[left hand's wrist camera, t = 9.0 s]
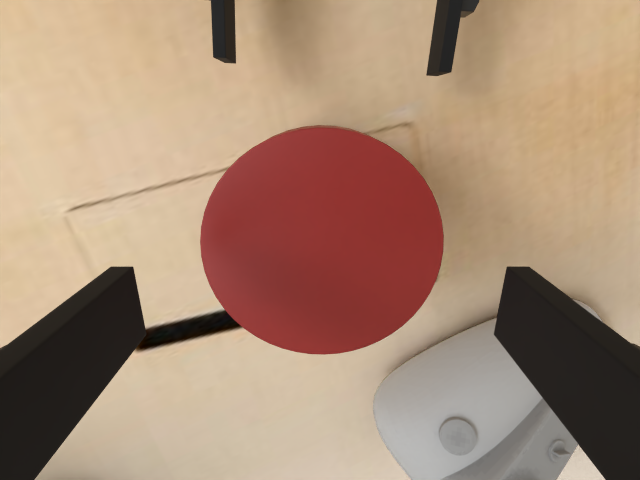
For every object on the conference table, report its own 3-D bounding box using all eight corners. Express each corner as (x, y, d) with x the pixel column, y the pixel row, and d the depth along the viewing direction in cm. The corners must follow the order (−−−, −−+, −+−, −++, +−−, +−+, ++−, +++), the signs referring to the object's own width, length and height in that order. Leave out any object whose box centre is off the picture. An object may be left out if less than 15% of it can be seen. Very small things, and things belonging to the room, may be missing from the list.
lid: (438, 122, 17) (456, 124, 15) (421, 327, 21) (433, 352, 19) (199, 128, 17) (182, 130, 15) (226, 331, 21) (216, 357, 19)
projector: (547, 459, 43) (655, 624, 29) (357, 448, 42) (375, 612, 28) (613, 295, 35) (801, 414, 21) (382, 279, 35) (424, 391, 21)
